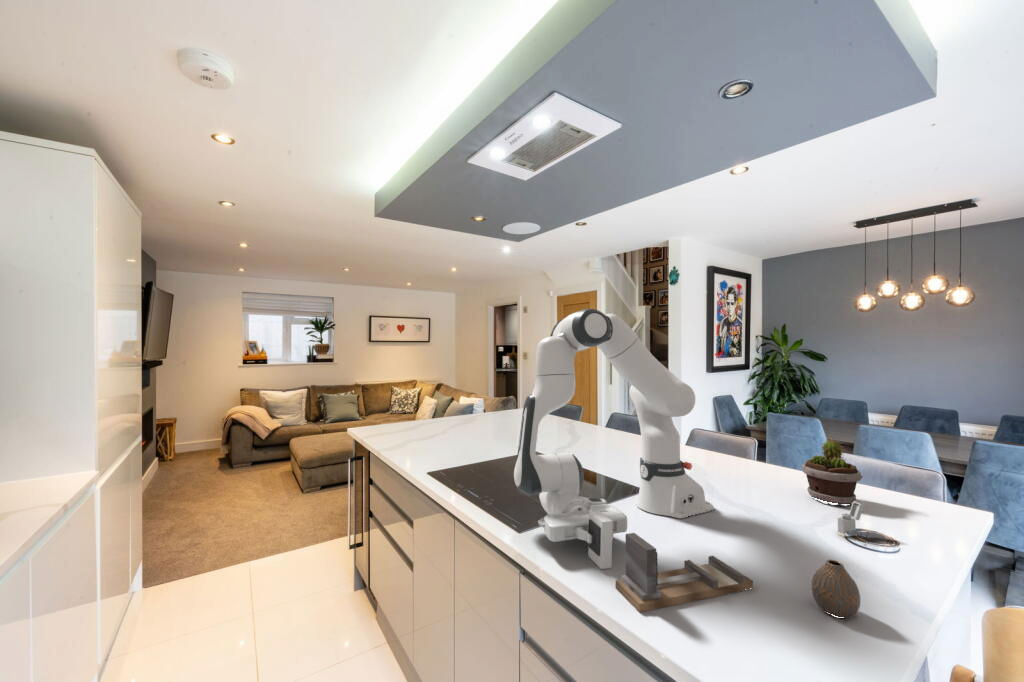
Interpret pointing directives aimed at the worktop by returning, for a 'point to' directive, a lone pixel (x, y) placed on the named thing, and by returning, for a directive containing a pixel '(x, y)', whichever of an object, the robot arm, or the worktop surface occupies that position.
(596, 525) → the white upright block
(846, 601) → the vase
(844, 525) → the lighter
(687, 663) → the worktop surface
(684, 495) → the robot arm
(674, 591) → the rail
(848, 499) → the flowerpot
